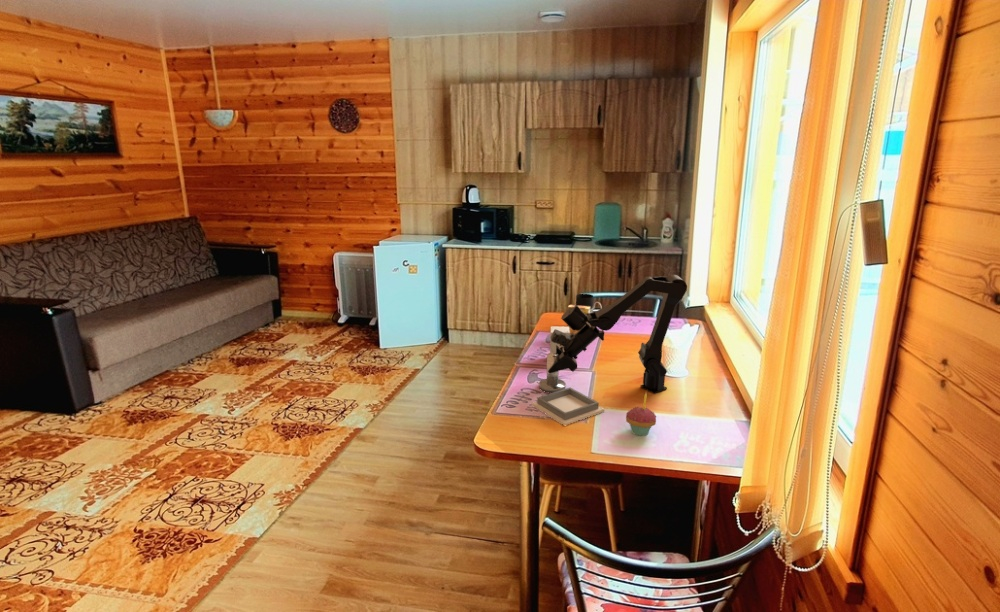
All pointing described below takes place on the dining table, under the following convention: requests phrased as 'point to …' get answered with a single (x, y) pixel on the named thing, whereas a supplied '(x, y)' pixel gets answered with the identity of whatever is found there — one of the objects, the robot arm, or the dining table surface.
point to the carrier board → (567, 406)
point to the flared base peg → (552, 377)
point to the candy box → (585, 309)
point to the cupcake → (641, 419)
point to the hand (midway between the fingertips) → (548, 369)
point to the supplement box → (562, 329)
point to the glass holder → (586, 301)
